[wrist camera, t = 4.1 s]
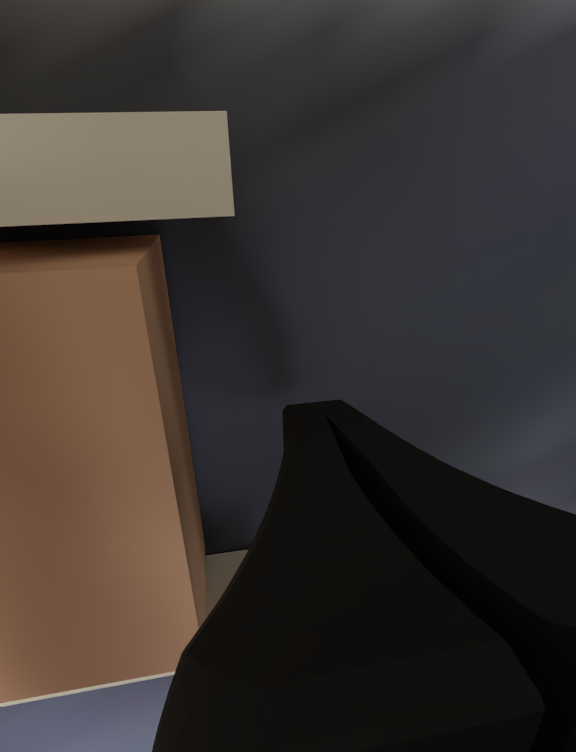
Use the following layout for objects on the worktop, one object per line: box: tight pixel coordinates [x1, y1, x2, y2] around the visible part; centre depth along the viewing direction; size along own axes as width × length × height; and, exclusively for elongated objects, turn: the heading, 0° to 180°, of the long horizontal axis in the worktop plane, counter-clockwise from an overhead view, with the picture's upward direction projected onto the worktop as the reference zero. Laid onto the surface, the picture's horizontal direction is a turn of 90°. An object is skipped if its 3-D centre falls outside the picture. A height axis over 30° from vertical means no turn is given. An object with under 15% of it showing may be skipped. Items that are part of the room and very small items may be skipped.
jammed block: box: [0, 235, 205, 703], centre depth 9 cm, size 5×9×4 cm, turn 2°
